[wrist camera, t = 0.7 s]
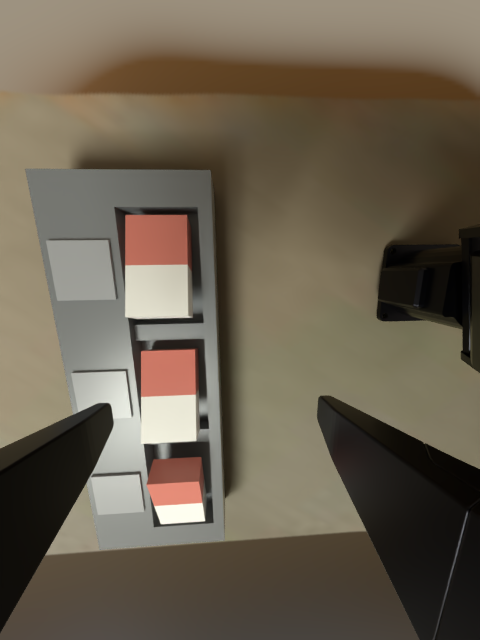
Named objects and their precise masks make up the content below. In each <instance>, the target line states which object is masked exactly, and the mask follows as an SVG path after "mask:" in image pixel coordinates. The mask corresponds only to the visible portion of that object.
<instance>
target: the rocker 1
mask: <svg viewBox="0 0 480 640" xmlns="http://www.w3.org/2000/svg"><path fill="white" fill-rule="evenodd" d="M125 317H128V318H134V319H157V318H193V293H192V231H191V225H190V223H189V220H188V217H187V215H125Z"/></svg>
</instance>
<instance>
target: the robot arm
mask: <svg viewBox="0 0 480 640" xmlns="http://www.w3.org/2000/svg"><path fill="white" fill-rule="evenodd" d="M459 238H461V246H460V245H457V244H456V245H391V246H388V247H386V249H385V251H384V258H383V267H382V271H381V278H380V286H379V295H378V299H379V301H378V309H377V318H378V319H379V320H381V321H419V320H427V321H431V322H435V323H439V324H443V325H447V326H451V327H455V328H459V329H463V351H461V360H463V361H464V362H466V363H467V364H468V365H470V366H471V367H472V368H474V369H475V370H476V371H478V372H479V373H480V224H479V225H475V226H471V227H467V228H462V229H459ZM391 249H392V250H393V253H392V254H391V253H390V251H391ZM384 313H385V316H384V317H382V315H383V314H384ZM317 419H318V422H319V425H320V428H321V431H322V433H323V436H324V439H325V442H326V444H327V447H328V450H329V453H330V455H331V458H332V460H333V462H334V465H335V467H336V469H337V471H338V473H339V475H340V477H341V479H342V481H343V483H344V485H345V487H346V489H347V491H348V493H349V496H350V498H351V500H352V502H353V504H354V506H355V508H356V510H357V512H358V514H359V516H360V518H361V520H362V522H363V524H364V526H365V528H366V531H367V533H368V535H369V537H370V538H371V541H372V542H373V545H374V547H375V549H376V551H377V553H378V555H379V557H380V559H381V561H382V563H383V565H384V567H385V570H386V572H387V574H388V576H389V578H390V580H391V582H392V584H393V586H394V588H395V590H396V592H397V594H398V596H399V598H400V600H401V603H402V605H403V607H404V608H405V611H406V613H407V615H408V617H409V619H410V621H411V623H412V625H413V627H414V629H415V631H416V633H417V635H418V638H419V639H420V640H480V469H478V468H476V467H474V466H471V465H469V464H467V463H465V462H463V461H461V460H458V459H456V458H454V457H452V456H450V455H448V454H446V453H444V452H442V451H440V450H438V449H436V448H434V447H432V446H430V445H428V444H426V443H425V444H424V443H423V442H422V441H420V440H418V439H416V438H414V437H412V436H410V435H408V434H406V433H404V432H402V431H400V430H398V429H396V428H394V427H392V426H390V425H388V424H386V423H384V422H382V421H380V420H378V419H376V418H374V417H372V416H370V415H368V414H366V413H364V412H362V411H360V410H358V409H356V408H354V407H352V406H350V405H348V404H346V403H344V402H342V401H340V400H338V399H336V398H334V397H332V396H320V397H319V399H318V410H317ZM113 426H114V420H113V413H112V407H111V404H109V403H97V404H95V405H93V406H91V407H89V408H86V409H84V410H82V411H80V412H78V413H76V414H74V415H71V416H69V417H67V418H65V419H63V420H61V421H59V422H56V423H54V424H52V425H50V426H48V427H46V428H44V429H41V430H39V431H37V432H35V433H33V434H31V435H29V436H26V437H24V438H22V439H20V440H18V441H16V442H14V443H11V444H9V445H7V446H5V447H3V448H1V449H0V633H1V631H2V629H3V627H4V626H5V624H6V622H7V621H8V619H9V617H10V615H11V614H12V612H13V610H14V608H15V607H16V605H17V603H18V601H19V600H20V598H21V596H22V594H23V593H24V590H25V589H26V587H27V586H28V584H29V582H30V580H31V579H32V577H33V575H34V573H35V572H36V570H37V568H38V566H39V565H40V563H41V561H42V559H43V557H44V556H45V554H46V553H47V551H48V549H49V547H50V546H51V544H52V542H53V540H54V539H55V537H56V535H57V533H58V532H59V530H60V528H61V526H62V525H63V523H64V521H65V519H66V518H67V516H68V514H69V512H70V511H71V509H72V507H73V505H74V504H75V502H76V500H77V498H78V497H79V495H80V493H81V491H82V490H83V488H84V486H85V485H86V483H87V481H88V479H89V478H90V476H91V474H92V472H93V470H94V468H95V466H96V464H97V462H98V460H99V458H100V456H101V453H102V451H103V449H104V447H105V445H106V442H107V440H108V438H109V436H110V434H111V431H112V429H113Z"/></svg>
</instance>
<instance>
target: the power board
mask: <svg viewBox="0 0 480 640" xmlns="http://www.w3.org/2000/svg"><path fill="white" fill-rule="evenodd" d="M25 170H26V175H27V180H28V186H29V191H30V196H31V201H32V206H33V211H34V216H35V221H36V227H37V232H38V237H39V242H40V247H41V252H42V257H43V262H44V267H45V273H46V278H47V283H48V288H49V293H50V298H51V303H52V308H53V314H54V319H55V324H56V329H57V334H58V339H59V344H60V349H61V355H62V360H63V365H64V370H65V375H66V380H67V385H68V390H69V395H70V401H71V406H72V411H73V415H74V414H76V413H78V412H80V411H82V410H84V409H86V408H89V407H91V406H93V405H95V404H97V403H109V404H111V407H112V413H113V420H114V426H113V429H112V431H111V434H110V436H109V438H108V440H107V442H106V445H105V447H104V449H103V451H102V453H101V456H100V458H99V460H98V462H97V464H96V466H95V468H94V470H93V472H92V474H91V476H90V478H89V479H88V481H87V488H88V493H89V498H90V503H91V508H92V513H93V518H94V523H95V529H96V534H97V539H98V544H99V549H100V550H103V549H117V548H130V547H144V546H158V545H171V544H185V543H199V542H212V541H225V485H224V456H223V428H222V400H221V372H220V344H219V315H218V287H217V259H216V231H215V202H214V187H213V181H212V176H211V170H131V169H25ZM125 215H187V217H188V220H189V223H190V225H191V231H192V293H193V318H157V319H134V318H128V317H125ZM181 348H198V361H199V419H200V431H199V434H198V437H197V441H188V442H168V443H149V444H141V351H145V350H150V349H181ZM190 457H201V458H202V466H203V473H204V480H205V488H206V495H207V501H206V517H205V521H201V522H187V523H172V524H161V523H160V520H159V518H158V515H157V512H156V510H155V507H154V504H153V501H152V499H151V496H150V493H149V490H148V488H147V485H146V484H147V481H148V477H149V473H150V470H151V466H152V462H153V460H154V459H172V458H190Z"/></svg>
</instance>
